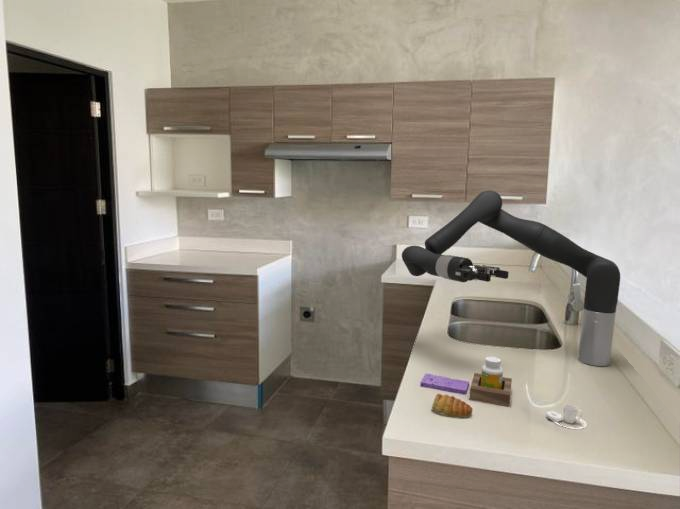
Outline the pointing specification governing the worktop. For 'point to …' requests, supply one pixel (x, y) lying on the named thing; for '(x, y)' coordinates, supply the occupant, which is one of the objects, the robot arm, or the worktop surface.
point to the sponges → (444, 383)
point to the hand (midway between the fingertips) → (499, 276)
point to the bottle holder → (490, 391)
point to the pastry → (451, 406)
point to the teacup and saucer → (566, 416)
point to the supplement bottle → (492, 373)
